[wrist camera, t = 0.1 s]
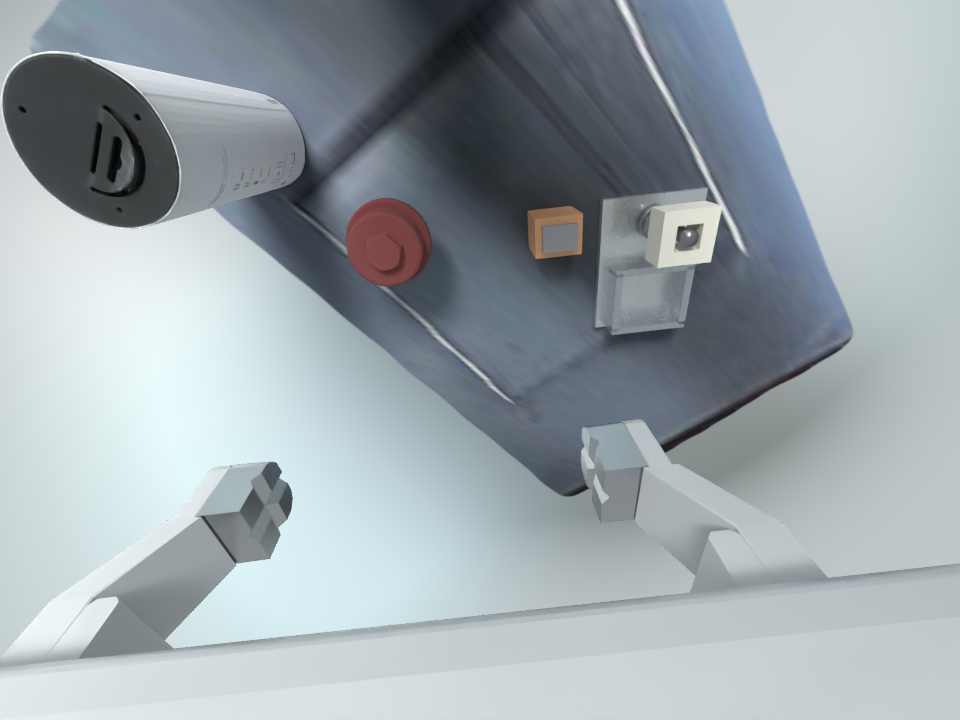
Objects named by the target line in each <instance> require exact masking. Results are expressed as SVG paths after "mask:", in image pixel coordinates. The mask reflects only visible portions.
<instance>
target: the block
mask: <svg viewBox="0 0 960 720" xmlns="http://www.w3.org/2000/svg"><path fill="white" fill-rule="evenodd" d="M527 215H528V243H529V249H530V250H531V252H532V254H533V255H534V257H535V258H536V259H542V258H550V257H559V256H568V255H577V254H582V231H583V213H581V212H580V211H578V210H577V209H575V208H574V207H572V206H565V207H556V208H548V209H539V210H530V211H527Z"/></svg>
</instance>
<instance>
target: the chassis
mask: <svg viewBox="0 0 960 720" xmlns="http://www.w3.org/2000/svg"><path fill="white" fill-rule="evenodd" d="M707 190H708V188H706V187H697V188H688V189H679V190H671V191H662V192H653V193H645V194H636V195H627V196H619V197H610V198H601V199H600V214H599V232H598V250H597V268H596V285H595V303H594V321H593V325H594V326H595V327H606V328H607V330H608V331H609V332H610V334H611V335H617V334H626V333H635V332H644V331H652V330H661V329H670V328H679V327H684V323H685V318H686V313H687V307H688V302H689V297H690V292H691V286H692V281H693V276H694V271H695V265H696V264H689V265H680V266H671V267H662V268H657V267H655V266H654V265H652V264H651V263H649V262H648V261H646V260H645V256H646V247H647V239H648V231H649V222H650V214H651V207H655V206H663V205H672V204H681V203H690V202H698V201H706V196H707ZM686 226H687V225H684V226H678V229H677V235H676V242H675V243H680V244H682V245H684V246H686V247H692V246H694V245H696V244H697V242H698V241H699V234H698V233H697V232H696V231H693V230H691V229H689V228H686Z"/></svg>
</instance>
